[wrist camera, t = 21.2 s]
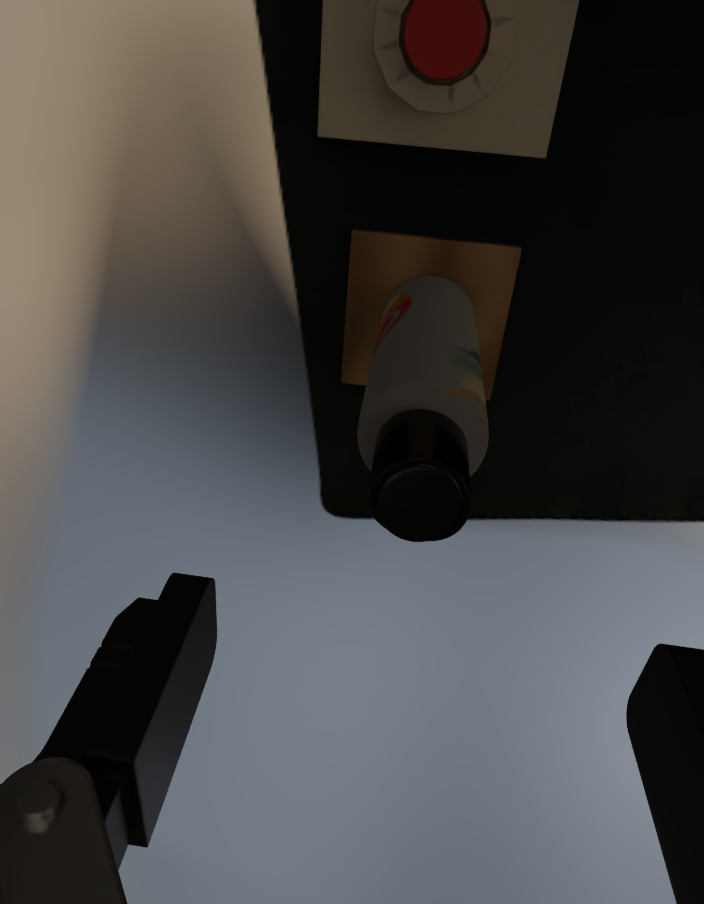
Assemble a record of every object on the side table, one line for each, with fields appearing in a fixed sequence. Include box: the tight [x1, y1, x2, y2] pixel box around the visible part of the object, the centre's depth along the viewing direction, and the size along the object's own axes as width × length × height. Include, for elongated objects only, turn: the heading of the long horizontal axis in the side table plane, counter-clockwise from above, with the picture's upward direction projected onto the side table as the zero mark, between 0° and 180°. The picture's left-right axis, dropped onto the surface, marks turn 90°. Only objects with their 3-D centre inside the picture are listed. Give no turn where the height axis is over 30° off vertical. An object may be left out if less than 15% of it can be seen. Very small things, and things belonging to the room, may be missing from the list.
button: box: [404, 0, 486, 80], centre depth 29 cm, size 4×4×2 cm
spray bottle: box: [357, 276, 488, 542], centre depth 32 cm, size 6×6×20 cm
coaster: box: [341, 228, 522, 400], centre depth 41 cm, size 10×10×1 cm
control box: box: [318, 0, 579, 158], centre depth 31 cm, size 12×10×4 cm
